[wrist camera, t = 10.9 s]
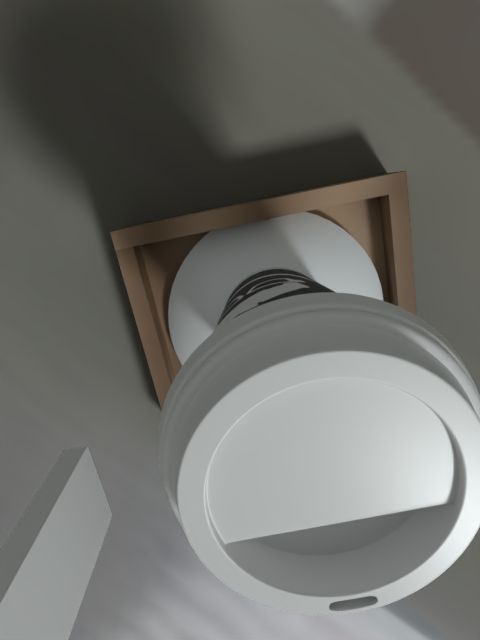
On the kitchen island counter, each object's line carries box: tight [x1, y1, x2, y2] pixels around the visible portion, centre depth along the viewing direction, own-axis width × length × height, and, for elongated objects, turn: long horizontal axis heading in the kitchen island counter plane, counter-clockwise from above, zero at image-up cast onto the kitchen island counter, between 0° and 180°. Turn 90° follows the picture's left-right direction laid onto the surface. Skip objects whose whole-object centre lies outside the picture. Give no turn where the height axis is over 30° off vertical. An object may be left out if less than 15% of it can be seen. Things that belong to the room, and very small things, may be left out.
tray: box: [110, 171, 417, 411], centre depth 25 cm, size 16×14×3 cm
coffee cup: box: [158, 269, 480, 615], centre depth 17 cm, size 10×10×15 cm
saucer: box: [168, 212, 383, 366], centre depth 25 cm, size 13×13×1 cm
